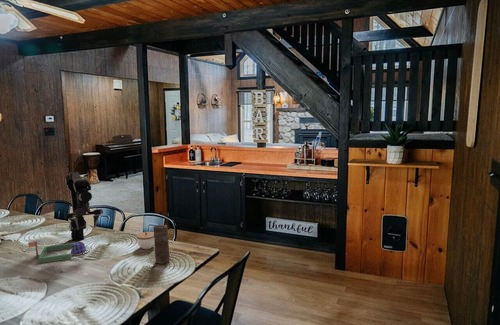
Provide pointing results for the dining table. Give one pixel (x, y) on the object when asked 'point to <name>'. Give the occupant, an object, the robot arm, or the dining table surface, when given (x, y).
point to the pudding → (78, 248)
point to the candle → (161, 244)
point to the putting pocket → (50, 248)
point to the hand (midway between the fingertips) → (86, 229)
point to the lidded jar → (145, 240)
